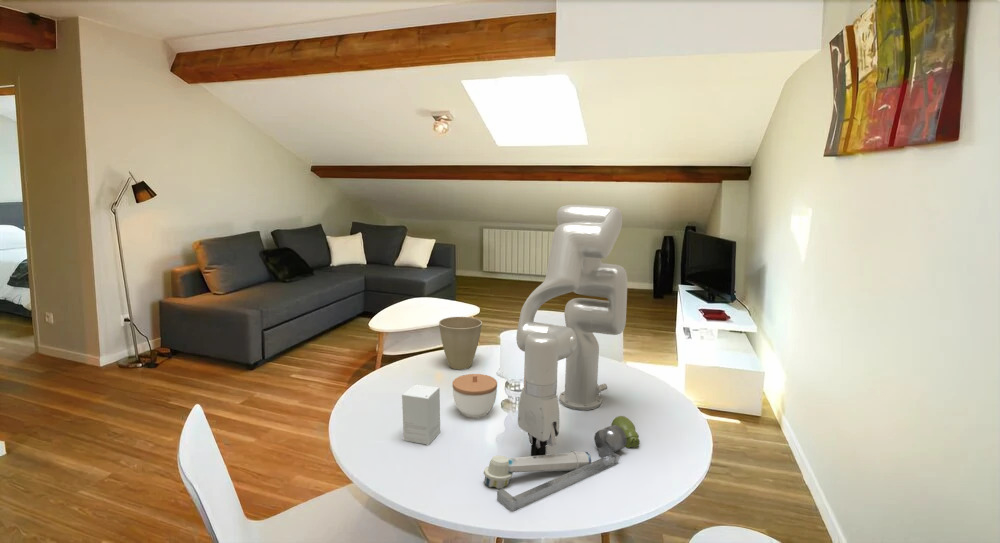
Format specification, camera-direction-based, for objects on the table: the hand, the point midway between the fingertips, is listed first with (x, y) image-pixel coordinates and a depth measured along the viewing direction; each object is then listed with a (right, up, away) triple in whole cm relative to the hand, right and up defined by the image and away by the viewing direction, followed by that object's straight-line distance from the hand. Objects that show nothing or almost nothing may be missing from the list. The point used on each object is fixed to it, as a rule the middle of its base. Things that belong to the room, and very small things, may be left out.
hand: (538, 459), depth 127 cm
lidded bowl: (-16, +4, +27) cm, 32 cm away
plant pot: (-23, +11, +62) cm, 67 cm away
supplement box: (-29, +1, +13) cm, 32 cm away
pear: (+23, +1, +12) cm, 26 cm away
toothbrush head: (0, -3, -4) cm, 5 cm away
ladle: (+6, -2, -3) cm, 7 cm away
